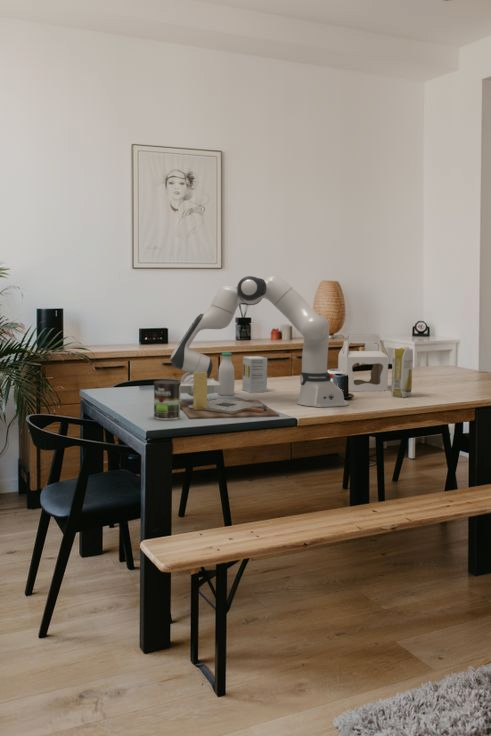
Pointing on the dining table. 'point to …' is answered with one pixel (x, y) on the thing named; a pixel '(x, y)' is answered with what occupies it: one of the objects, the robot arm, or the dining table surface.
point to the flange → (216, 405)
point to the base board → (213, 414)
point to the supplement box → (254, 374)
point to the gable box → (368, 357)
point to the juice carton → (402, 372)
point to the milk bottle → (226, 375)
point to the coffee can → (167, 399)
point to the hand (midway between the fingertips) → (199, 390)
